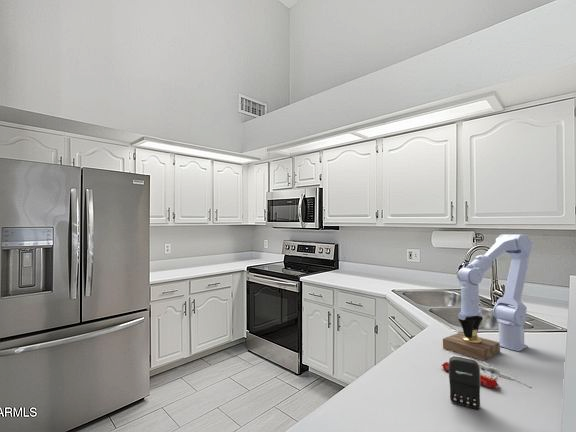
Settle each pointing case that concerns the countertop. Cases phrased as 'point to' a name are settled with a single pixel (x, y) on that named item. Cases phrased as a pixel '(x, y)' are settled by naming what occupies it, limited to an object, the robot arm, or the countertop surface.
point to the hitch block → (471, 347)
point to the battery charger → (464, 381)
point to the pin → (473, 339)
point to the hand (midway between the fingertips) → (470, 336)
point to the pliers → (491, 369)
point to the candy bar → (483, 378)
